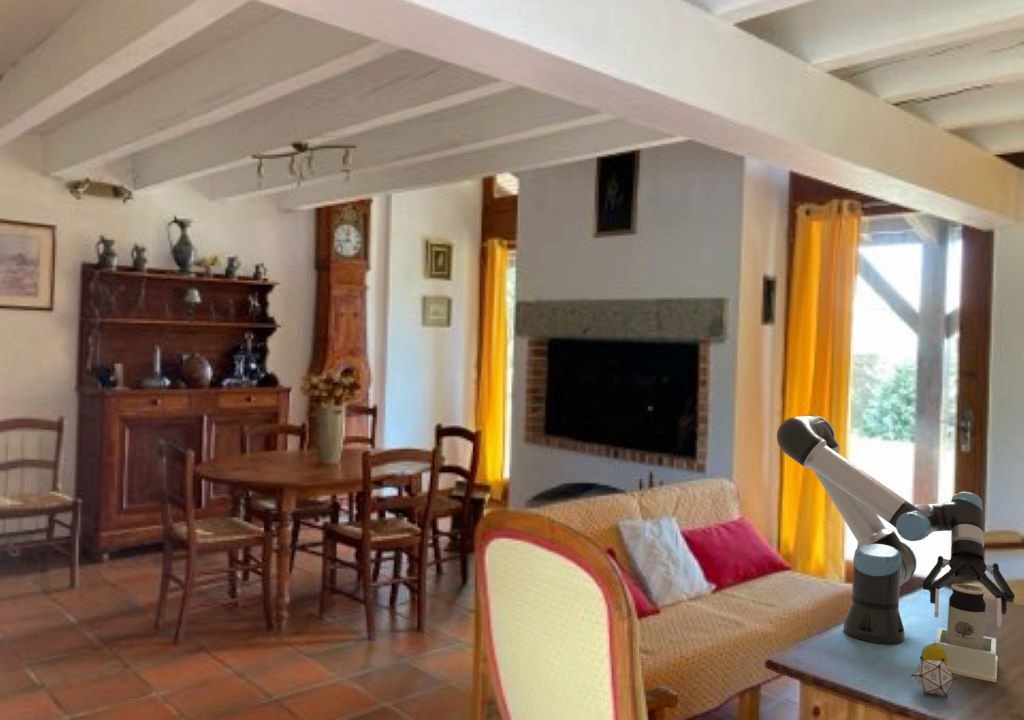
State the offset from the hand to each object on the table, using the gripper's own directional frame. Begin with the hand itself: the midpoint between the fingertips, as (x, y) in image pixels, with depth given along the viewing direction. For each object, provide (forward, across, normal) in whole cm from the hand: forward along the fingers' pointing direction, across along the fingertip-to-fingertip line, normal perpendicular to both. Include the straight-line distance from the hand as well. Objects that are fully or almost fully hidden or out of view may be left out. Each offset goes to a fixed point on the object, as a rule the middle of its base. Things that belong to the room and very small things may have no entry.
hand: (967, 619), depth 206 cm
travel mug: (+6, 0, -10) cm, 11 cm away
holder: (+7, 0, -10) cm, 12 cm away
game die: (+24, +8, +8) cm, 27 cm away
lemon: (+16, +7, -1) cm, 18 cm away
